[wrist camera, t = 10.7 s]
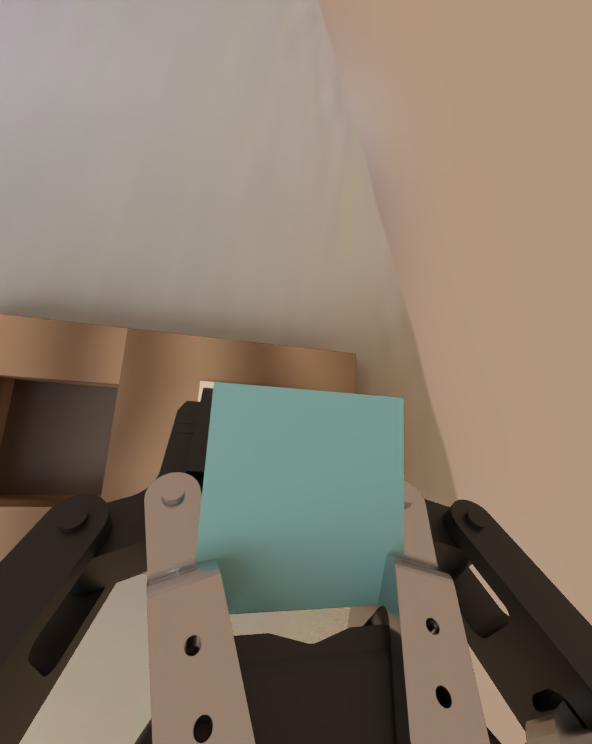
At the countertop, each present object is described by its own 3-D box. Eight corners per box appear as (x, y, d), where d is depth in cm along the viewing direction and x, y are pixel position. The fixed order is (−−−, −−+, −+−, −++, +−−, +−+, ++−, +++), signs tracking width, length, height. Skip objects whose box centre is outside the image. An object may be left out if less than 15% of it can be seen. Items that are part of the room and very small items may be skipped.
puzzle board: (-85, 554, 16) (-163, 586, 12) (-28, 324, 18) (-82, 303, 15) (333, 545, 20) (352, 567, 17) (339, 362, 22) (357, 353, 19)
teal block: (212, 501, 15) (188, 616, 6) (221, 405, 15) (213, 382, 7) (305, 502, 15) (404, 603, 7) (309, 411, 16) (403, 397, 8)
